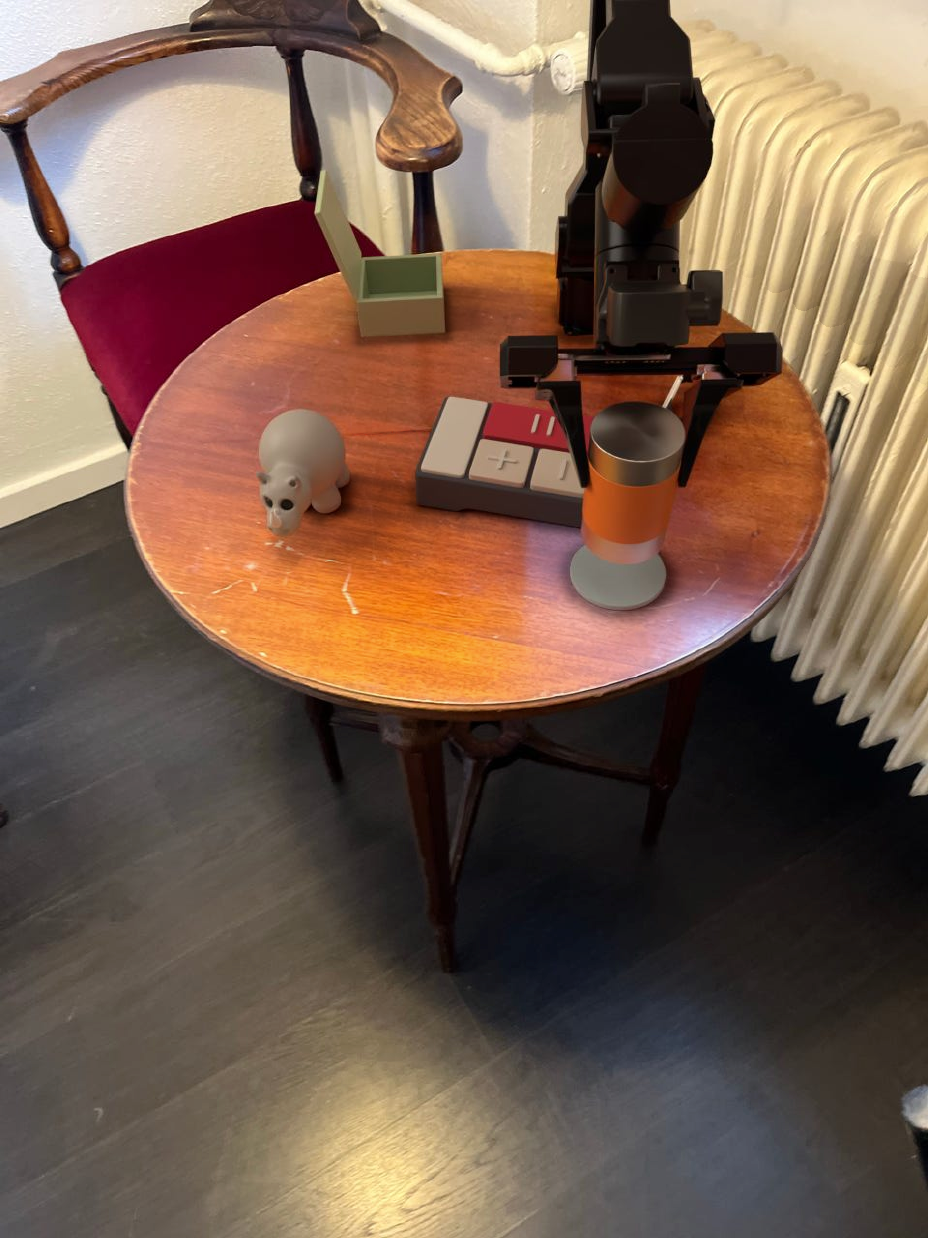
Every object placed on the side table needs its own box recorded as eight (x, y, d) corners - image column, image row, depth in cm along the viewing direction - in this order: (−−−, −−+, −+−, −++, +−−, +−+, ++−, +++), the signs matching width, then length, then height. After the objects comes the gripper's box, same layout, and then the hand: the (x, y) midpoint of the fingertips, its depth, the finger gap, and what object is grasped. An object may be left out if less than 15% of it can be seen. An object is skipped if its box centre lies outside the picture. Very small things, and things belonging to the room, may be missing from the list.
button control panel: (592, 497, 72) (413, 467, 74) (586, 534, 75) (414, 504, 77) (609, 413, 79) (445, 387, 81) (603, 450, 82) (445, 425, 84)
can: (572, 508, 70) (581, 405, 62) (654, 499, 70) (672, 395, 63) (589, 569, 66) (600, 467, 58) (675, 560, 66) (698, 456, 58)
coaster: (656, 538, 74) (657, 533, 74) (673, 608, 69) (674, 603, 69) (565, 542, 74) (565, 538, 74) (575, 613, 69) (576, 609, 69)
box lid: (326, 168, 88) (320, 170, 89) (320, 211, 83) (314, 213, 83) (361, 253, 95) (356, 255, 96) (358, 297, 90) (352, 299, 90)
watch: (673, 383, 87) (679, 351, 84) (721, 394, 86) (728, 362, 83) (651, 431, 83) (656, 399, 80) (701, 442, 81) (708, 410, 79)
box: (443, 292, 99) (441, 252, 96) (445, 337, 94) (442, 297, 90) (364, 296, 99) (359, 257, 96) (361, 341, 94) (356, 302, 90)
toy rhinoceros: (240, 559, 74) (214, 482, 68) (287, 464, 82) (268, 387, 75) (323, 569, 73) (304, 493, 67) (362, 473, 81) (349, 395, 74)
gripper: (498, 220, 54) (498, 483, 55) (815, 214, 53) (805, 481, 54) (500, 272, 65) (500, 489, 66) (762, 268, 64) (755, 488, 65)
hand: (632, 487), depth 63 cm, fingers closed on can, 6 cm apart
